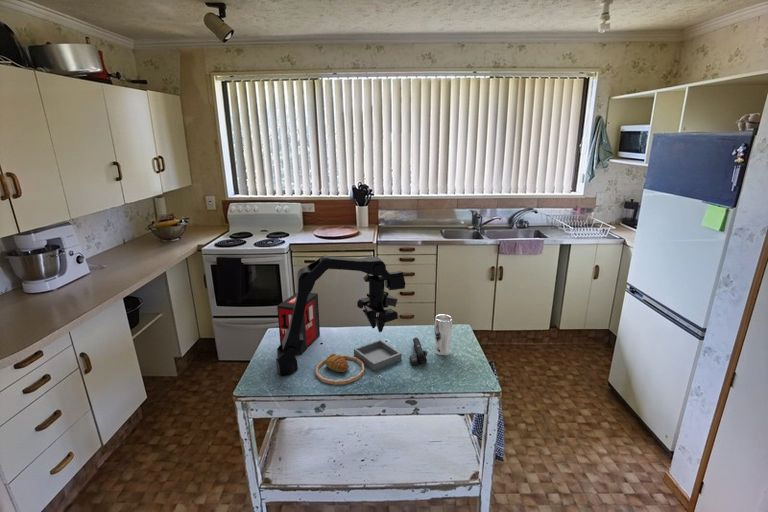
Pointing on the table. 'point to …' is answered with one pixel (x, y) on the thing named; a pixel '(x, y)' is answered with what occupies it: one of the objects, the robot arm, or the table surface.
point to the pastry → (337, 363)
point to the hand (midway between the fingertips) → (377, 330)
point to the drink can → (442, 334)
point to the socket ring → (341, 380)
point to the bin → (377, 355)
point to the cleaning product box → (309, 322)
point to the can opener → (418, 353)
